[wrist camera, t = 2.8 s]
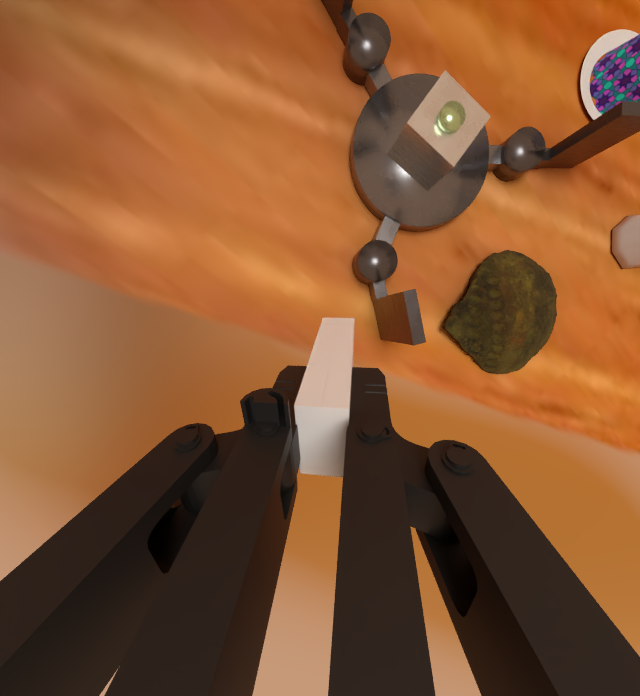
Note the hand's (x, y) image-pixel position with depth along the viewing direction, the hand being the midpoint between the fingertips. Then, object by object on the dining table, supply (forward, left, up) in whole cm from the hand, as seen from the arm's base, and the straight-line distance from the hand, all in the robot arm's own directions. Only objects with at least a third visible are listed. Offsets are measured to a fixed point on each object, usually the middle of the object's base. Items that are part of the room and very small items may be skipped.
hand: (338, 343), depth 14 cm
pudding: (+13, +49, -20) cm, 54 cm away
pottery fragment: (+18, +16, -21) cm, 32 cm away
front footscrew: (+4, +9, -20) cm, 22 cm away
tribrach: (-3, +25, -20) cm, 32 cm away
